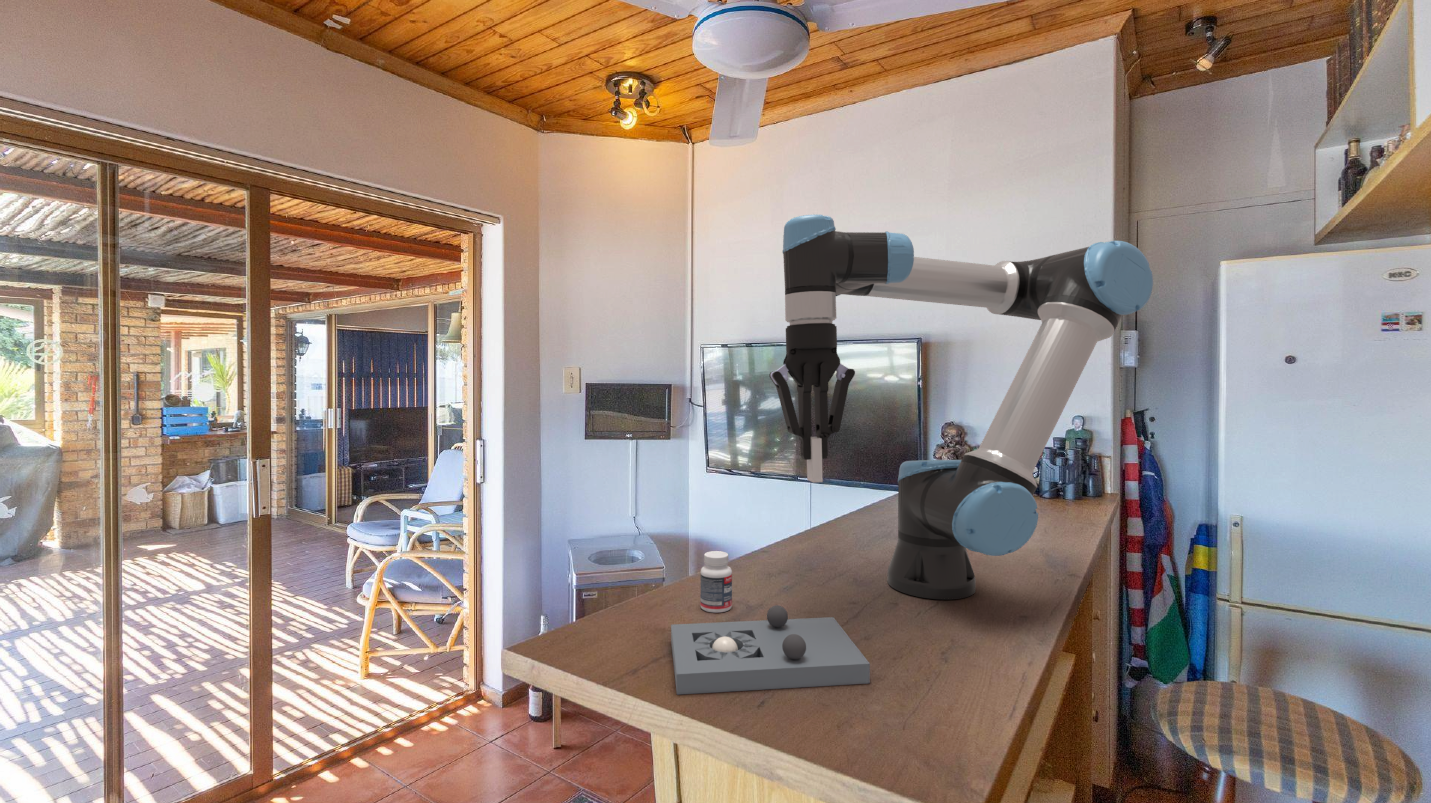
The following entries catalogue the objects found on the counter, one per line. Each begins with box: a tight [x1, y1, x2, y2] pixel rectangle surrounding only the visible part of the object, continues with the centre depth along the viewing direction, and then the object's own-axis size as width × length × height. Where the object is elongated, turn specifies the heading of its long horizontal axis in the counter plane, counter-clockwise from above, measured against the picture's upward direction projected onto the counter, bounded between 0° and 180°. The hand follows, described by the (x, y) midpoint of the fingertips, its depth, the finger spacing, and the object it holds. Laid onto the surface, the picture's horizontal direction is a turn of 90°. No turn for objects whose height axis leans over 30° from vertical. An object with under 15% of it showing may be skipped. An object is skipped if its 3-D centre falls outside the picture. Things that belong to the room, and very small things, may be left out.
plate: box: [670, 616, 871, 695], centre depth 84 cm, size 24×15×2 cm, turn 97°
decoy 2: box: [782, 634, 806, 660], centre depth 79 cm, size 3×3×3 cm
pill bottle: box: [699, 550, 733, 614], centre depth 103 cm, size 5×5×9 cm
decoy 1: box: [766, 604, 789, 628], centre depth 89 cm, size 3×3×3 cm
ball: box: [712, 636, 738, 652], centre depth 83 cm, size 4×4×4 cm
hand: (814, 480), depth 94 cm, fingers closed
